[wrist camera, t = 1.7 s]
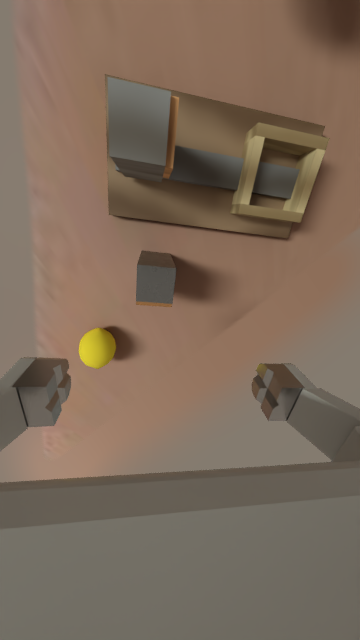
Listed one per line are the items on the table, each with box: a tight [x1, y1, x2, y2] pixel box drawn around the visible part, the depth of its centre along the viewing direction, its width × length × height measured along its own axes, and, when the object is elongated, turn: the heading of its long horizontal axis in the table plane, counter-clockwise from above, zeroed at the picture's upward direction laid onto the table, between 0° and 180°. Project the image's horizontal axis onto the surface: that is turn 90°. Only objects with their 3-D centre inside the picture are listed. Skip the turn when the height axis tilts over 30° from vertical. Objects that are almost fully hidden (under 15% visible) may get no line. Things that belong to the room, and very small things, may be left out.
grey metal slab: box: [136, 251, 176, 307], centre depth 26 cm, size 5×4×9 cm
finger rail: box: [105, 74, 330, 238], centre depth 20 cm, size 12×24×12 cm, turn 83°
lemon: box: [79, 328, 116, 369], centre depth 32 cm, size 7×5×5 cm
